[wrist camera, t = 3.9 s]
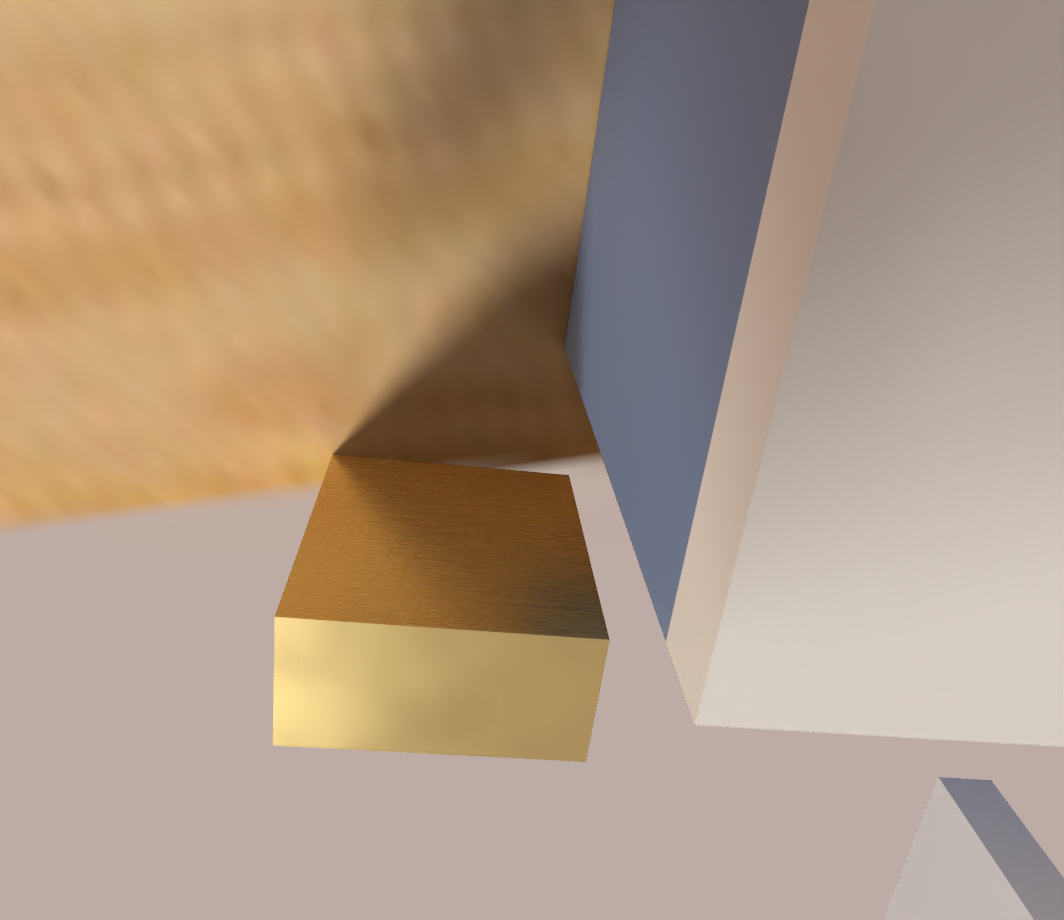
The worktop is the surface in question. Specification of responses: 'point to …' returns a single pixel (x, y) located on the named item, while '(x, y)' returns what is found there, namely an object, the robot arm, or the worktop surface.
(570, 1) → the worktop surface
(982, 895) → the robot arm
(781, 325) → the coin box
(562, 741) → the wooden toy block
